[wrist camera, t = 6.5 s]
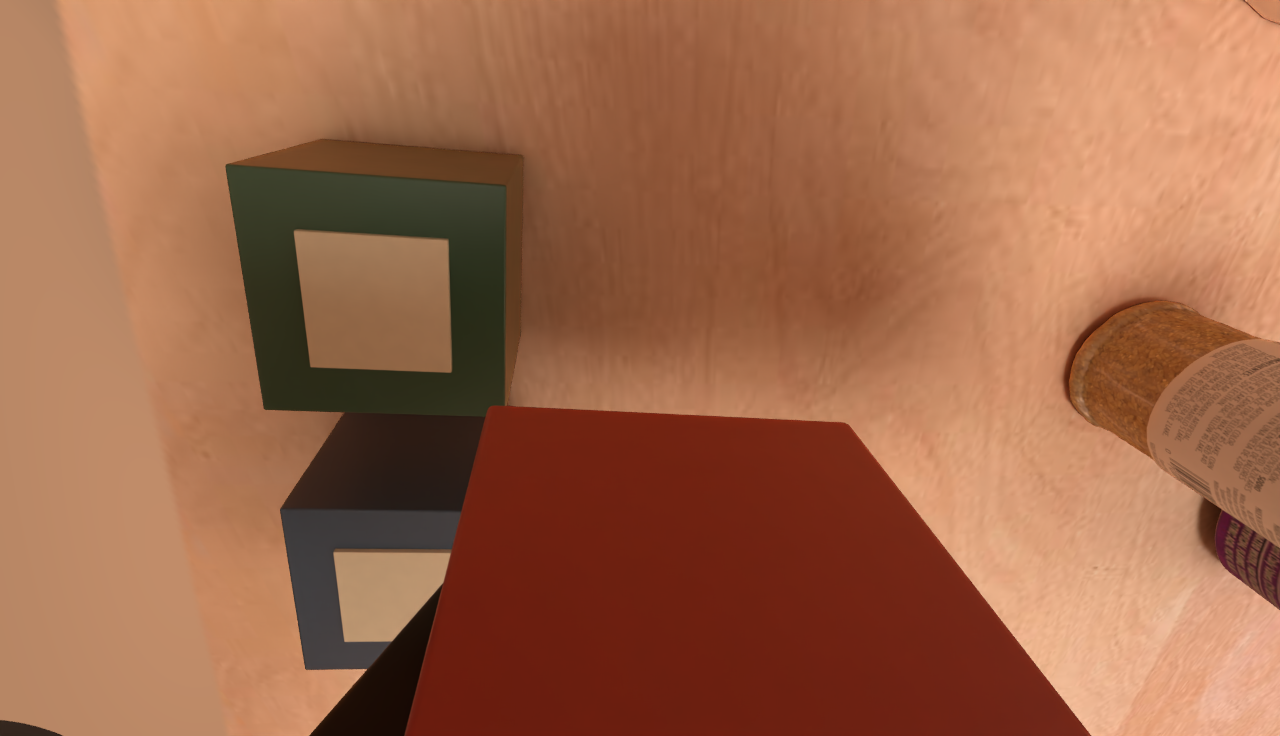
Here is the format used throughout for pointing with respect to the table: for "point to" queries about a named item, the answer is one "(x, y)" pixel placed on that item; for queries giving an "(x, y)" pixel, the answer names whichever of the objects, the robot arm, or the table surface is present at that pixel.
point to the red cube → (708, 592)
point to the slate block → (374, 529)
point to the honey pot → (1267, 9)
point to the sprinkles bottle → (1190, 403)
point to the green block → (381, 276)
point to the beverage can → (1249, 557)
